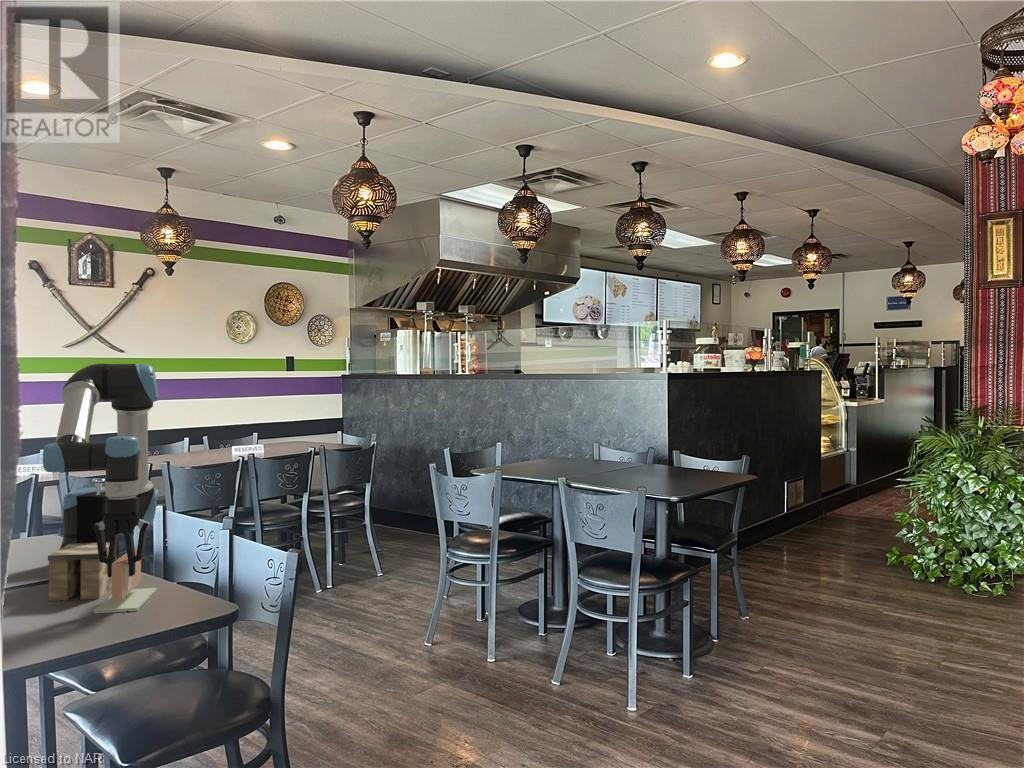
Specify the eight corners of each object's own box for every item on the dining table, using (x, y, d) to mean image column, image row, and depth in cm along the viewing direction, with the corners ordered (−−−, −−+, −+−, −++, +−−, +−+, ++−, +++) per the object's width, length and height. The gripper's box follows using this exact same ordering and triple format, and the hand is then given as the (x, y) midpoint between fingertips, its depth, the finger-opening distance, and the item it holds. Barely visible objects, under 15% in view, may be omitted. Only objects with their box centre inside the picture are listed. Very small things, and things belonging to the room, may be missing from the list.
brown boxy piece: (69, 586, 205) (69, 543, 204) (116, 584, 207) (116, 542, 207) (47, 602, 190) (47, 556, 190) (97, 599, 192) (98, 554, 192)
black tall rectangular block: (119, 575, 216) (119, 481, 216) (101, 583, 208) (102, 485, 208) (94, 574, 217) (94, 480, 217) (75, 582, 209) (76, 484, 209)
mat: (117, 592, 199) (117, 589, 199) (156, 590, 201) (156, 587, 201) (93, 613, 181) (93, 610, 181) (137, 611, 183) (137, 607, 183)
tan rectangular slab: (131, 582, 198) (131, 549, 198) (140, 581, 199) (141, 548, 199) (111, 599, 183) (111, 563, 183) (122, 598, 183) (122, 563, 183)
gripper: (83, 500, 181) (82, 594, 181) (150, 498, 184) (149, 591, 184) (94, 495, 189) (93, 586, 189) (158, 494, 192) (158, 583, 192)
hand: (121, 588), depth 186 cm, fingers closed on tan rectangular slab, 2 cm apart
